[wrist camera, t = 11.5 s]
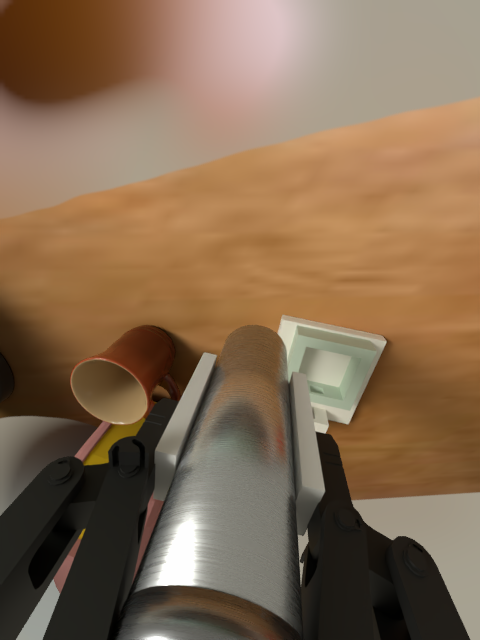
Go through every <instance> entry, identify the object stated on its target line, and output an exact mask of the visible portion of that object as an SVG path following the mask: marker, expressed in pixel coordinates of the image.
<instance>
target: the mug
mask: <svg viewBox="0 0 480 640" xmlns="http://www.w3.org/2000/svg"><path fill="white" fill-rule="evenodd" d="M174 358H175V347H174V344H173V342H172V340H171V339H170V337H169V336H168V335H167V334H166V333H165V332H164V331H162V330H161V329H159V328H157V327H154V326H149V325H143V326H139V327H136V328H133V329H131V330H130V331H128V332H126V333H125V334H123V335H122V337H120V338H119V339H118V340H117V341H116V342H115V343H113V344H112V345H111V346H110V347H109V348H108V349H107V350H106V351H104V352H103V353H100V354H98V355H95V356H92V357H89V358H86V359H84V360H82V361H80V362H79V363H78V364H77V365H76V366H75V367H74V368H73V370H72V372H71V377H70V384H71V389H72V392H73V394H74V396H75V398H76V399H77V401H78V402H79V403H80V405H81V406H82V407H83V408H84V409H85V410H86V411H87V412H89V413H90V414H91V415H93V416H94V417H96V418H98V419H100V420H102V421H104V422H107V423H111V424H115V425H130V424H134V423H136V422H138V421H140V420H141V419H142V418H145V419H146V418H147V416H148V415H149V413H150V411H151V410H152V408H153V407H154V405H155V404H154V402H153V400H152V395H153V392H154V389H155V388H156V387H157V385H159V386H161V387H163V388H164V389H166V390H167V391H168V393H169V394H170V396H171V400H176V401H180V399H181V393H180V390H179V388H178V386H177V385H176V383H175V381H174V379H173V377H172V376H171V375H170V374H169V372H168V371H169V370H170V368H171V366H172V364H173V361H174Z"/></svg>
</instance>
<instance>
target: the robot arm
mask: <svg viewBox="0 0 480 640" xmlns="http://www.w3.org/2000/svg"><path fill="white" fill-rule="evenodd" d="M216 358H217V355H214V354H209V353H205V352H204V353H203V355H202V357H201V359H200V361H199V363H198V365H197V367H196V369H195V371H194V373H193V375H192V377H191V379H190V381H189V383H188V385H187V387H186V389H185V391H184V393H183V395H182V397H181V399H180V401H176V400H171V399H167V398H163V399H161V400H160V401H159V402H157V403H156V404H155V405H154V407H153V408H152V410H151V411H150V413H149V415H148V416H147V418H146V420H145V422H144V423H143V424H142V426H141V428H140V429H139V431H138V433H137V434H136V436H128V437H124V438H122V439H119V440H118V441H117V442H115V443H114V444H113V445H112V446H111V448H110V449H109V451H108V458H109V462H108V463H104V464H95V465H84V464H83V462H82V461H81V460H80V459H78V458H77V457H63V458H59V459H57V460H55V461H54V462H51V463H50V464H49V465H47V466H46V467H45V468H44V469H43V470H42V471H41V472H40V473H39V474H38V475H37V476H36V477H35V479H34V480H33V481H32V482H31V483H30V484H29V485H28V486H27V487H26V488H25V490H24V491H23V492H22V493H21V494H20V495H19V496H18V497H17V498H16V499H15V500H14V502H13V503H12V504H11V505H10V506H9V507H8V508H7V509H6V510H5V511H4V513H3V514H2V515H1V516H0V640H16V638H17V636H18V635H19V633H20V632H21V630H22V628H23V627H24V625H25V624H26V622H27V620H28V619H29V617H30V615H31V614H32V612H33V611H34V609H35V607H36V606H37V604H38V602H39V601H40V599H41V598H42V596H43V594H44V593H45V591H46V589H47V588H48V586H49V584H50V583H51V581H52V580H53V578H54V577H55V575H56V573H57V572H58V570H59V568H60V567H61V565H62V564H63V562H64V560H65V559H66V557H67V555H68V554H69V552H70V551H71V549H72V547H73V546H74V544H75V542H76V541H77V539H78V538H79V536H80V534H81V533H82V531H83V529H85V531H84V534H83V537H82V539H81V542H80V544H79V547H78V549H77V552H76V555H75V557H74V560H73V562H72V565H71V568H70V570H69V573H68V575H67V578H66V581H65V583H64V586H63V588H62V591H61V593H60V596H59V599H58V601H57V604H56V606H55V609H54V612H53V614H52V617H51V620H50V622H49V625H48V627H47V630H46V632H45V635H44V637H43V640H111V636H112V633H113V631H114V628H115V625H116V622H117V620H118V617H119V615H120V612H121V610H122V607H123V604H124V602H125V600H126V599H127V596H128V594H129V591H130V588H131V586H132V582H133V578H134V573H135V568H136V564H137V559H138V554H139V549H140V545H141V540H142V535H143V531H144V526H145V521H146V517H147V512H148V503H149V501H150V498H151V496H152V494H153V499H157V500H161V501H164V500H165V497H166V495H167V492H168V490H169V487H170V484H171V482H172V479H173V477H174V474H175V471H176V469H177V466H178V464H179V461H180V458H181V456H182V453H183V451H184V448H185V445H186V443H187V440H188V438H189V435H190V432H191V430H192V427H193V425H194V422H195V419H196V417H197V414H198V412H199V409H200V406H201V404H202V401H203V399H204V396H205V393H206V391H207V388H208V386H209V383H210V380H211V378H212V375H213V373H214V370H215V365H216ZM13 387H14V381H13V376H12V373H11V370H10V368H9V366H8V364H7V362H6V361H5V359H4V358H3V357H2V355H1V354H0V403H1V402H2V401H4V400H5V399H6V398H8V397H9V396H10V395H11V393H12V391H13ZM289 398H290V415H291V432H292V449H293V466H294V483H295V500H296V517H297V533H298V535H302V536H303V535H304V534H305V532H306V530H307V528H308V539H309V542H308V544H307V546H306V548H305V550H304V552H303V554H302V556H301V559H300V562H301V563H303V562H304V567H303V575H302V584H301V601H302V618H303V635H304V640H470V638H469V636H468V634H467V632H466V629H465V627H464V625H463V623H462V620H461V619H460V616H459V614H458V612H457V609H456V607H455V605H454V603H453V601H452V599H451V596H450V594H449V592H448V590H447V587H446V585H445V583H444V581H443V579H442V576H441V574H440V572H439V570H438V567H437V565H436V564H435V562H434V560H433V559H432V557H431V555H430V554H429V553H428V552H427V551H426V550H425V549H424V548H423V546H421V545H420V544H419V543H417V542H416V541H415V540H413V539H410V538H408V537H406V536H398V537H397V538H396V539H394V540H391V539H389V538H387V537H386V536H384V535H382V534H381V533H379V532H377V531H375V530H374V529H372V528H371V527H370V526H368V525H367V524H366V523H365V522H364V521H363V519H362V517H361V516H360V514H359V512H358V511H357V510H356V509H355V508H354V507H353V504H352V501H351V497H350V493H349V489H348V485H347V481H346V477H345V473H344V469H343V467H342V461H341V458H340V453H339V449H338V445H337V443H336V442H335V440H334V439H333V437H332V436H331V435H329V434H325V433H321V432H316V431H315V426H314V420H313V414H312V408H311V402H310V396H309V390H308V383H307V377H306V374H303V373H298V372H294V371H293V372H292V375H291V378H290V382H289Z"/></svg>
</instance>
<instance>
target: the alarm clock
mask: <svg viewBox="0 0 480 640" xmlns="http://www.w3.org/2000/svg"><path fill="white" fill-rule="evenodd" d="M153 402H154V401H153ZM154 404H156V402H154ZM145 420H146V419H145V418H142V419H141V420H140V421H138V422H136V423H134V424H130V425H115V424H111V423H107V422H104V421H103V422H102V423H101V424H100V426H99V427H98V428H97V429H96V431H95V432H94V433H93V434H92V435H91V436H90V438H89V439H88V440H87V441H86V443H85V444H84V445H83V446H82V447H81V449H80V450H79V451H78V453H77V454H76V455H75V457H77V458H78V459H80V460H81V461H82V462H83V464H84V465H95V464H104V463H108V462H109V458H108V451H109V449H110V448H111V446H112V445H113V444H114V443H115V442H117V441H118V440H119V439H122V438H124V437H128V436H136V434H137V433H138V431H139V429H140V428H141V426H142V424H143V423H144V422H145ZM163 503H164V501H161V500H157V499H153V494H152V496H151V498H150V501H149V503H148V512H147V517H146V521H145V526H144V531H143V535H142V540H141V545H140V549H139V554H138V559H137V564H136V568H135V573H134V578H135V575H136V573H137V570H138V568H139V565H140V562H141V560H142V557H143V555H144V552H145V549H146V547H147V544H148V542H149V539H150V536H151V534H152V531H153V529H154V526H155V523H156V521H157V518H158V516H159V513H160V510H161V508H162V505H163ZM84 531H85V529H83V531H82V533H81V534H80V536H79V538H78V539H77V541H76V542H75V544H74V546H73V547H72V549H71V551H70V552H69V554H68V555H67V557H66V559H65V560H64V562H63V564H62V565H61V567H60V568H59V570H58V572H57V573H56V575H55V577H54V578H53V579H54V582H55V584H56V587H57V589H58V591H59V592H60V593H61V591H62V588H63V586H64V583H65V581H66V578H67V575H68V573H69V570H70V568H71V565H72V562H73V560H74V557H75V555H76V552H77V549H78V547H79V544H80V542H81V539H82V537H83V534H84ZM134 578H133V581H134ZM132 583H133V582H132Z"/></svg>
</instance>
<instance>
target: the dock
mask: <svg viewBox="0 0 480 640" xmlns="http://www.w3.org/2000/svg"><path fill="white" fill-rule="evenodd" d="M278 335H279V336H280V337H281V339H282V340H283V342H284V344H285V346H286V350H287V365H288V382H290V378H291V375H292V372H293V371H294V372H298V373H303V374H306V377H307V383H308V390H309V396H310V402H311V408H312V411H313V420H314V426H315V431H316V432H321V433H325V434H326V431H327V429H328V426H329V424H328V420H332V421H336V422H340V423H344V424H349V422H350V420H351V418H352V415H353V413H354V411H355V409H356V407H357V405H358V403H359V400H360V398H361V396H362V394H363V392H364V390H365V388H366V385H367V383H368V381H369V379H370V377H371V375H372V373H373V370H374V368H375V366H376V364H377V362H378V360H379V358H380V355H381V353H382V351H383V349H384V347H385V345H386V343H387V341H386V340H385V338H384V337H383V336H382V335H377V334H373V333H368V332H363V331H358V330H353V329H349V328H344V327H339V326H334V325H330V324H325V323H320V322H315V321H311V320H306V319H301V318H296V317H291V316H287V315H282V318H281V322H280V326H279V330H278Z"/></svg>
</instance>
